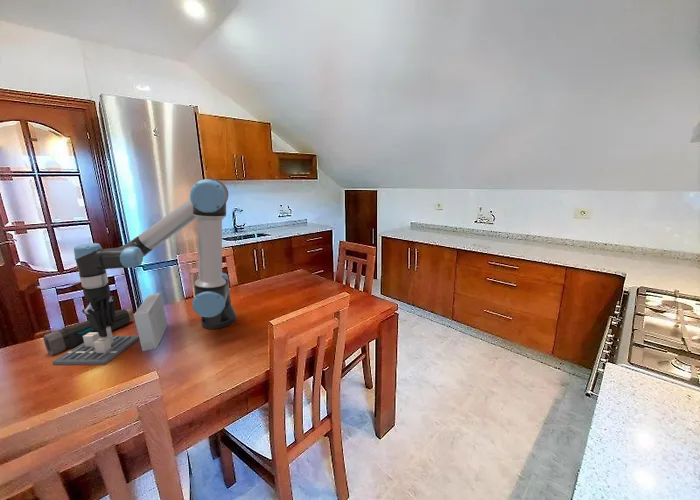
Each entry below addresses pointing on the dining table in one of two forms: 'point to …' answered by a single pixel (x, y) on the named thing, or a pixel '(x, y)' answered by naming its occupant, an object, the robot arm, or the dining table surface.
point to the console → (90, 357)
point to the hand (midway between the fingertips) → (108, 342)
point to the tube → (80, 333)
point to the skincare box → (151, 321)
